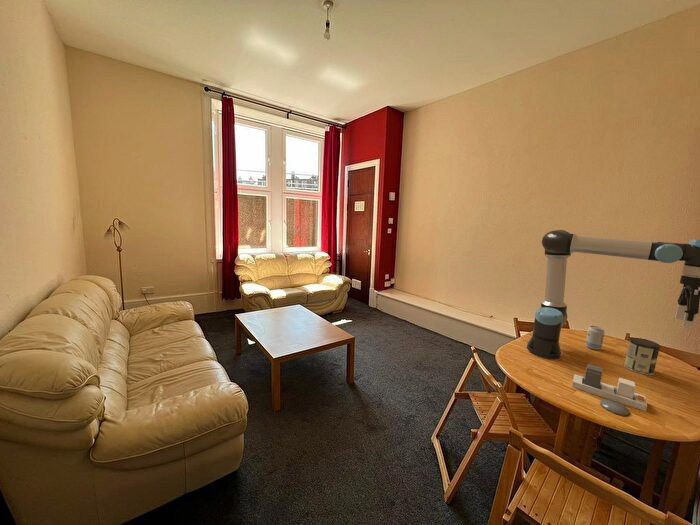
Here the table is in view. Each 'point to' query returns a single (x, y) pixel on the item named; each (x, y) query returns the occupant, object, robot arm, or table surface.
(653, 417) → the table surface
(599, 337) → the beverage can
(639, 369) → the coffee can
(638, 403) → the strip
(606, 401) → the grey disc
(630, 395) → the white plug
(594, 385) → the block
